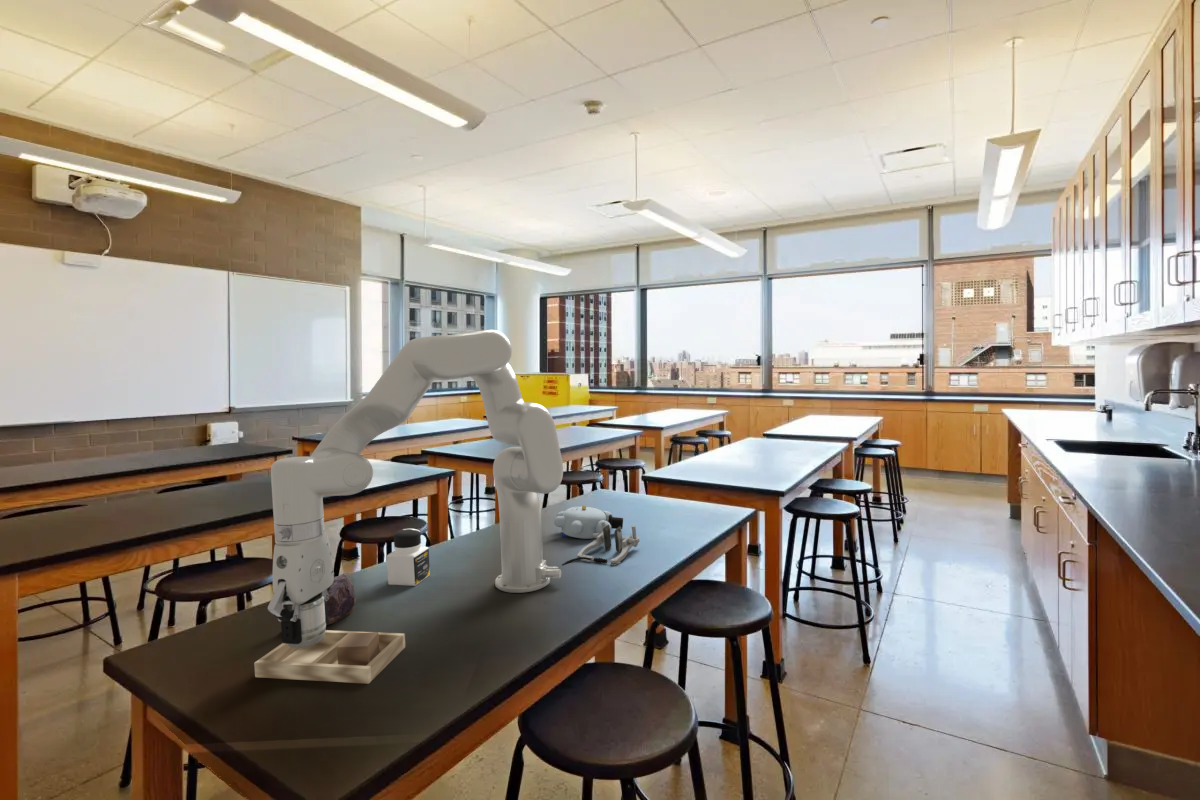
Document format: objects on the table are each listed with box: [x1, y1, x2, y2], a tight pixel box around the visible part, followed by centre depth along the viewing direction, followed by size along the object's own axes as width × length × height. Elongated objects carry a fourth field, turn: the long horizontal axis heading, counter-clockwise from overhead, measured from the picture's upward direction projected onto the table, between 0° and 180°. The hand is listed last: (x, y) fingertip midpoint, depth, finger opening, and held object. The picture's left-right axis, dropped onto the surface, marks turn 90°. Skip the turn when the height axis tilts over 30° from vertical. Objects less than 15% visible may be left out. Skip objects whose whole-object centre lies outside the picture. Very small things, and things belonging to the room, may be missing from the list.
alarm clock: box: [553, 505, 624, 540], centre depth 171 cm, size 17×8×20 cm
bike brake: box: [561, 521, 640, 566], centre depth 150 cm, size 14×7×20 cm
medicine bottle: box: [386, 528, 431, 587], centre depth 138 cm, size 7×7×12 cm
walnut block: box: [337, 631, 380, 666], centre depth 98 cm, size 5×5×4 cm
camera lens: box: [287, 593, 327, 648], centre depth 99 cm, size 6×6×8 cm
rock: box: [325, 572, 357, 626], centre depth 116 cm, size 12×9×10 cm
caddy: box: [253, 629, 406, 685], centre depth 99 cm, size 20×12×3 cm, turn 81°
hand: (306, 632), depth 99 cm, fingers closed on camera lens, 6 cm apart
